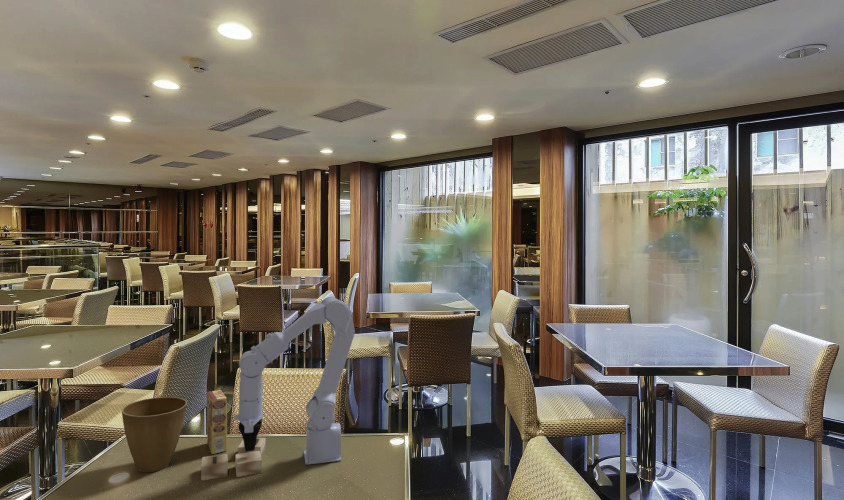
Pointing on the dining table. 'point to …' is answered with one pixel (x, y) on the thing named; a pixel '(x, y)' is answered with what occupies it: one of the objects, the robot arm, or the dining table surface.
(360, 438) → the dining table surface
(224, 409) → the candy box
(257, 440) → the numbered block eleven
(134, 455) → the plant pot
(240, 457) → the plain block
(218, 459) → the numbered block one
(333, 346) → the robot arm
